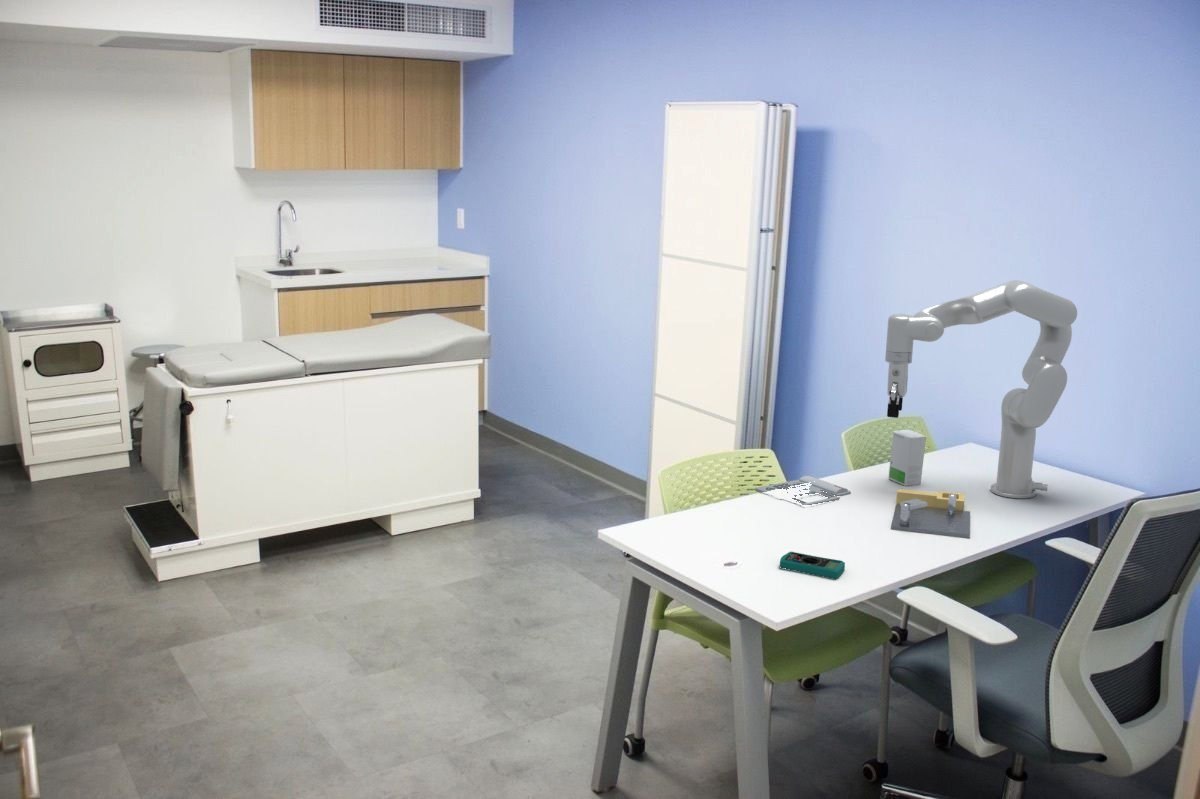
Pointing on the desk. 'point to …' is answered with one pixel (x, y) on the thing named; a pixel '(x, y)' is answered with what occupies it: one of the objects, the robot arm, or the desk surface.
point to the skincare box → (907, 457)
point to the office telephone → (814, 488)
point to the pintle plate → (931, 518)
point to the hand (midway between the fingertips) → (894, 413)
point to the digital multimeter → (812, 565)
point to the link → (931, 498)
